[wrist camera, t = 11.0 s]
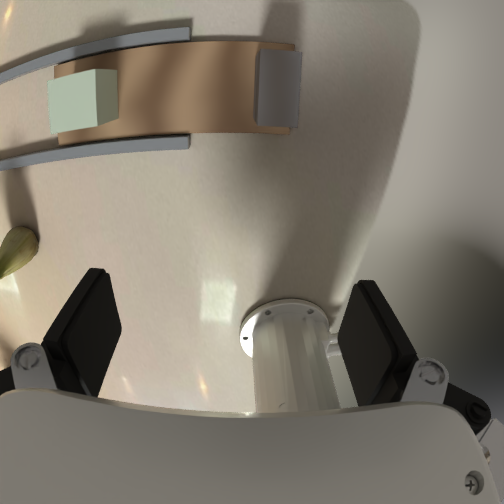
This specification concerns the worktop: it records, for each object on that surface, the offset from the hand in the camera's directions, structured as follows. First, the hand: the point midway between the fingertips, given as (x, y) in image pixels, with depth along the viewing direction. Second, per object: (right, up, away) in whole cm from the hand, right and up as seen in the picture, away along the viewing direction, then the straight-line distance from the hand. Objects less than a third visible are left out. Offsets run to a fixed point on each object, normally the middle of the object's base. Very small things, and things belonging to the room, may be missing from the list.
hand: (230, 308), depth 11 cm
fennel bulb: (-29, +4, +21) cm, 36 cm away
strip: (-8, +17, +13) cm, 23 cm away
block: (-14, +17, +12) cm, 26 cm away
